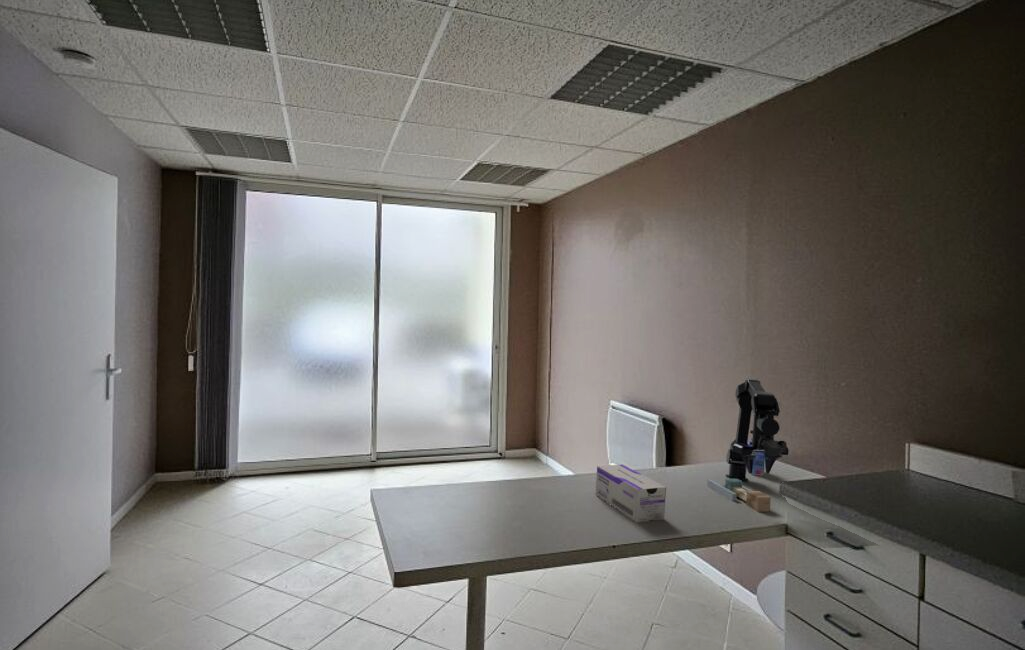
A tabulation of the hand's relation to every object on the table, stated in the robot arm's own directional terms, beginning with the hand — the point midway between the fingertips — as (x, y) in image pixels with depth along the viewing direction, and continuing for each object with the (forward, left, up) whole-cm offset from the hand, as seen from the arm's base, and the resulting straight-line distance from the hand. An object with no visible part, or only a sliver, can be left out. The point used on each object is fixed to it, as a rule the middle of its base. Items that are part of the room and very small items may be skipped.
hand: (758, 473), depth 187 cm
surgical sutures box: (-4, -47, -12) cm, 49 cm away
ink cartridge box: (-39, +28, -12) cm, 49 cm away
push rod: (-9, 0, -11) cm, 14 cm away
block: (+1, 0, -12) cm, 12 cm away
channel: (-15, 0, -12) cm, 19 cm away
